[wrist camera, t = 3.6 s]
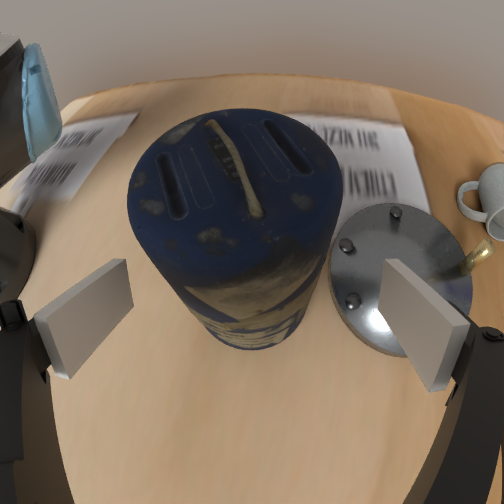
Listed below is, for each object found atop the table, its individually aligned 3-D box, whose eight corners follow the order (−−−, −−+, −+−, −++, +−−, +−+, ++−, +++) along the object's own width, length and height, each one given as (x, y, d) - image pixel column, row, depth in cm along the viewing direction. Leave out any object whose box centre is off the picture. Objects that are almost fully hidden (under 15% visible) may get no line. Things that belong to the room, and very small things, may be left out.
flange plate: (333, 365, 23) (353, 354, 17) (320, 209, 30) (329, 167, 25) (475, 345, 22) (515, 327, 16) (444, 214, 29) (468, 179, 23)
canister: (205, 359, 24) (85, 276, 8) (197, 262, 28) (126, 105, 12) (315, 343, 24) (396, 229, 8) (294, 247, 28) (312, 75, 12)
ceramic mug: (502, 199, 30) (526, 165, 23) (514, 246, 26) (546, 214, 20) (448, 181, 32) (470, 141, 25) (459, 231, 28) (489, 191, 21)
